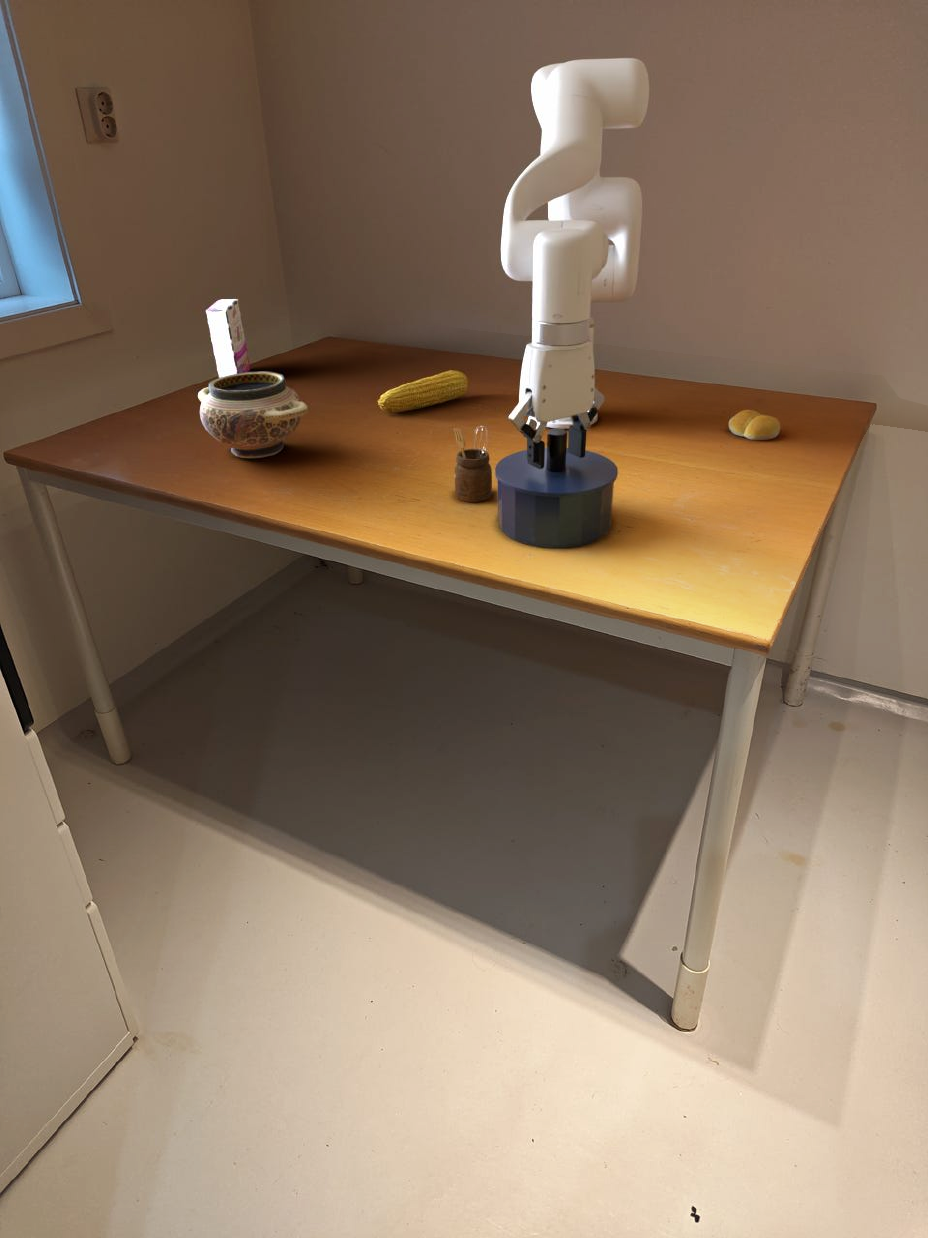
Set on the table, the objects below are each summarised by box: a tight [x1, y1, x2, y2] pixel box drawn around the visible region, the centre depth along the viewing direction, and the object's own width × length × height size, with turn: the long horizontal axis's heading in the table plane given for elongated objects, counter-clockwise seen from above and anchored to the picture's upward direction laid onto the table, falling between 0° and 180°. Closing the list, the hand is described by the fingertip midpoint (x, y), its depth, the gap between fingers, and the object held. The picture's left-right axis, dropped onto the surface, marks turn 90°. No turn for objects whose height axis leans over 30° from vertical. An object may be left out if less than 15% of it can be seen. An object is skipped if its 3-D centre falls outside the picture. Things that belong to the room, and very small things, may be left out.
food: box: [377, 369, 469, 413], centre depth 173 cm, size 21×6×6 cm, turn 128°
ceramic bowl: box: [197, 370, 309, 459], centre depth 152 cm, size 24×18×15 cm
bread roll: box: [728, 409, 781, 441], centre depth 155 cm, size 8×9×4 cm
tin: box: [496, 478, 615, 549], centre depth 123 cm, size 17×17×8 cm
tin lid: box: [494, 428, 619, 497], centre depth 120 cm, size 18×18×7 cm
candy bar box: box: [205, 298, 251, 378], centre depth 193 cm, size 11×5×16 cm, turn 179°
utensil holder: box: [453, 425, 493, 503], centre depth 132 cm, size 6×6×12 cm
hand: (556, 459), depth 120 cm, fingers open, 6 cm apart
